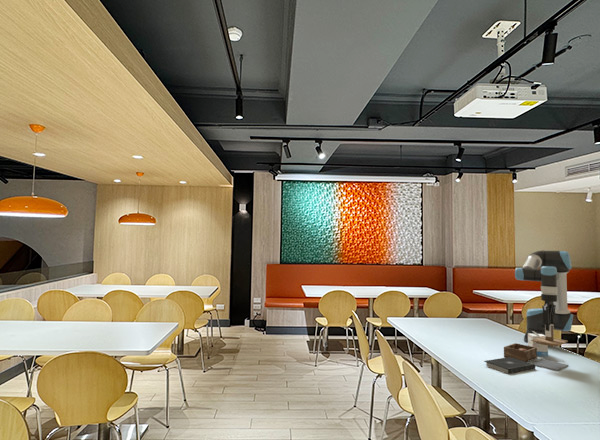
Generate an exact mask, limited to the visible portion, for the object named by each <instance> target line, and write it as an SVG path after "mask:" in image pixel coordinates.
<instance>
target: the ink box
mask: <svg viewBox="0 0 600 440" xmlns="http://www.w3.org/2000/svg"><path fill="white" fill-rule="evenodd" d="M533 332H534V331H533ZM534 333H535V334H531V333H528V343H527V346H531V347H536V348H537V357H538V356H539V357H549V351H548V350H549V346H548V345H543V344H538V343H536V342H533V341H531V340H532V339H535V338H538V337H541V336H545V335H543V334H537V333H536V332H534Z"/></svg>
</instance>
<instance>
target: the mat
mask: <svg viewBox="0 0 600 440" xmlns="http://www.w3.org/2000/svg"><path fill="white" fill-rule="evenodd" d="M531 364H534V365H535V367H540V368H544V369H548V370H552V371H555V372H560V371H561V370H564V369H565V368H567V367H569V364H568V363H562V362H557V361H553V360H549V359H544V358H541V359H539V360H536V361H534V362H532V363H531Z"/></svg>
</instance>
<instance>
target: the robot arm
mask: <svg viewBox="0 0 600 440" xmlns="http://www.w3.org/2000/svg"><path fill="white" fill-rule="evenodd" d="M572 265H573V264H572V259H571V255H570V252H568V251H564V250H537V251H534V252H533V251H532V252H531V253H529V254H528V255H527V256H526V258H525V262H524V264H523V266H522V267H516V268H515V269H514V277H515V280H517V281H526V282H528V281H529V282H540V287H539V288H540V291H541V296H540V298H541V299H540V300H541V301H544V304H543V305H542V308H537V307H536V308H528V309H527V311H526V315H525V316H526V330H525V333H524V336H523V341H524V343H527V344H528V333H531V334H535V333H534V332H536V333H537V334H543V335H545V336H547V337H551V326H553V337H555V335H554V331H561V332H570V331H571V330H572V327H573V326H572V325H573V319H574V314H573V313H571V311H570V309H569V308H568V289H567V288H568V287H567V286H568V285H567V281H568V280H567V274H568V273H570V270H572V267H573V266H572ZM533 331H534V332H533Z"/></svg>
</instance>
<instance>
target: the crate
mask: <svg viewBox="0 0 600 440" xmlns="http://www.w3.org/2000/svg"><path fill="white" fill-rule="evenodd" d="M506 357H511V358H515V359H518V360H521V361H525V362H528V363H529V362H531V361H533V360H536V359H537V358H538V356H537V348H536V347H531V346H528V344H521V343H516V342H515V343H512V344H511V343H510V344H509V345H506V346H503V358H506Z"/></svg>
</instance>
